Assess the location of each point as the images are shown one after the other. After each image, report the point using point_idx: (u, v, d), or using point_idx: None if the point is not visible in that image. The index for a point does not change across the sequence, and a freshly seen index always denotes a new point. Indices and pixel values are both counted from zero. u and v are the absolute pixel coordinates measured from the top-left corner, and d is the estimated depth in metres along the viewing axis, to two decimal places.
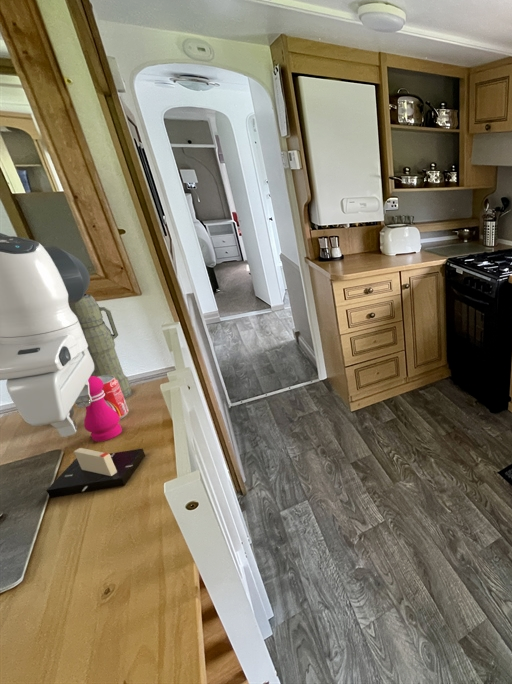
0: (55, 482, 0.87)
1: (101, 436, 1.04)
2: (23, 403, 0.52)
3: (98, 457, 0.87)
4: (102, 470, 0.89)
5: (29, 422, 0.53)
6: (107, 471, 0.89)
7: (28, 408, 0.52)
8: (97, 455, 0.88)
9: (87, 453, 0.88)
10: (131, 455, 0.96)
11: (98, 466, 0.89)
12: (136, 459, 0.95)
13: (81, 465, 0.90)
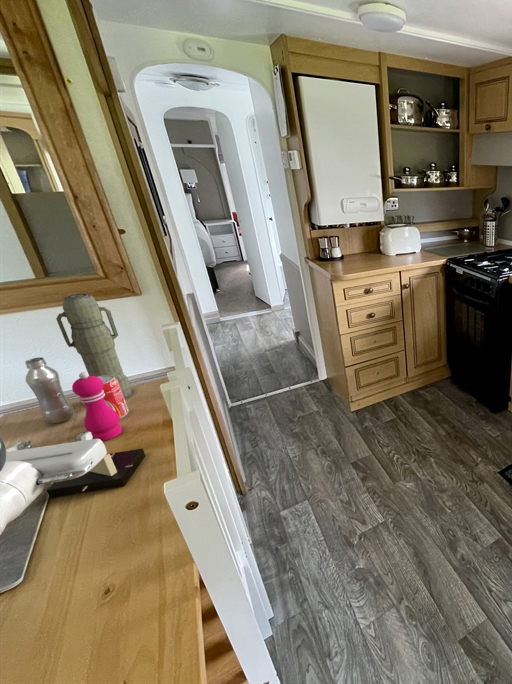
0: (55, 482, 0.87)
1: (101, 436, 1.04)
2: None
3: None
4: (102, 470, 0.89)
5: None
6: (107, 471, 0.89)
7: None
8: None
9: None
10: (131, 455, 0.96)
11: (98, 466, 0.89)
12: (136, 459, 0.95)
13: None
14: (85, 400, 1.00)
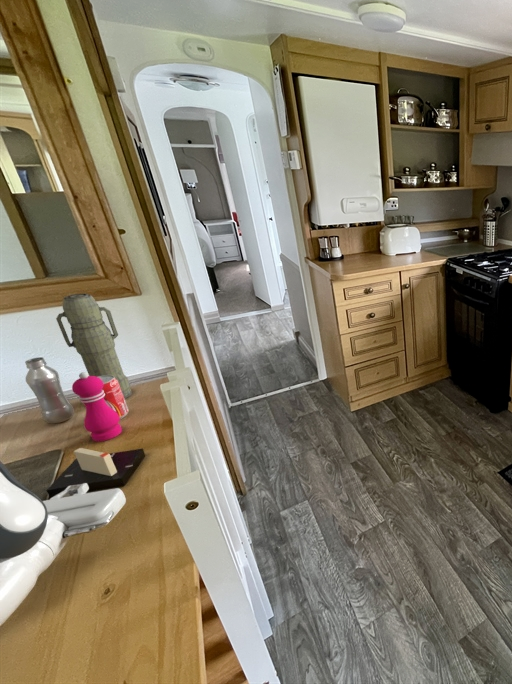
0: (55, 482, 0.87)
1: (101, 436, 1.04)
2: None
3: (98, 457, 0.87)
4: (102, 470, 0.89)
5: None
6: (107, 471, 0.89)
7: None
8: (97, 455, 0.88)
9: (87, 453, 0.88)
10: (131, 455, 0.96)
11: (98, 466, 0.89)
12: (136, 459, 0.95)
13: (81, 465, 0.90)
14: (85, 400, 1.00)
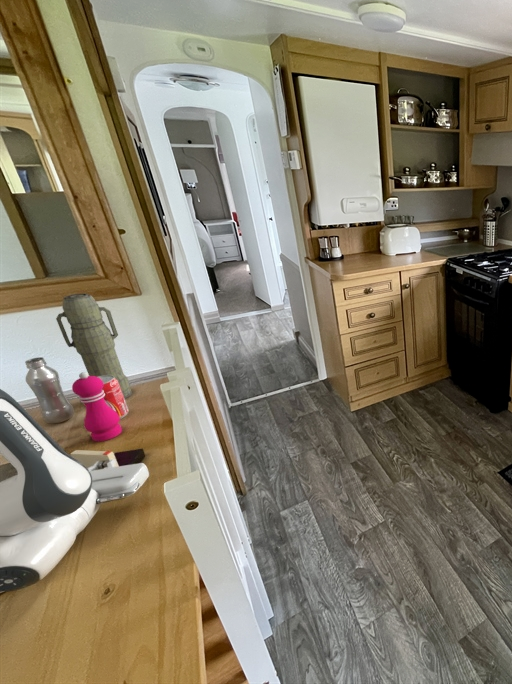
0: None
1: (101, 436, 1.04)
2: None
3: (101, 455, 0.88)
4: None
5: None
6: None
7: None
8: (99, 454, 0.88)
9: (87, 453, 0.88)
10: (131, 455, 0.96)
11: None
12: (136, 459, 0.95)
13: None
14: (85, 400, 1.00)
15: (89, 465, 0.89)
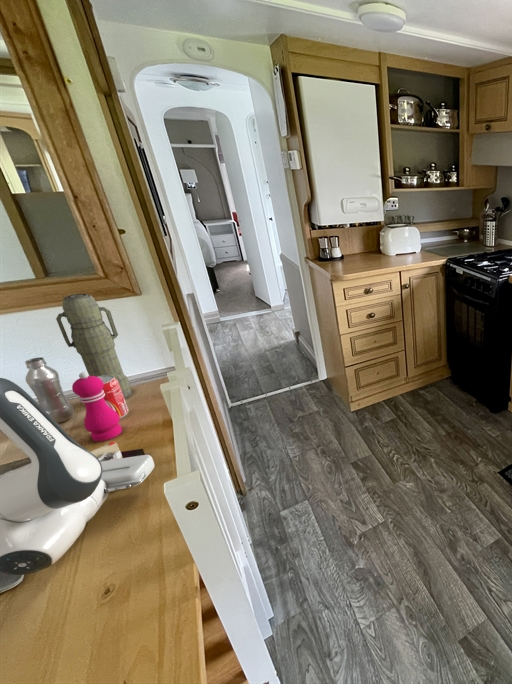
0: None
1: (101, 436, 1.04)
2: None
3: (108, 447, 0.90)
4: None
5: None
6: None
7: None
8: (105, 447, 0.90)
9: None
10: (131, 455, 0.96)
11: None
12: None
13: None
14: (85, 400, 1.00)
15: None
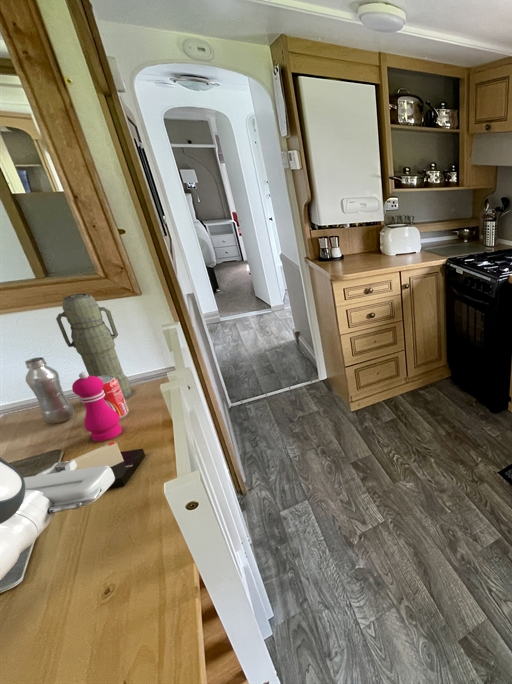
0: None
1: (101, 436, 1.04)
2: None
3: (108, 447, 0.90)
4: (111, 462, 0.92)
5: None
6: (119, 458, 0.93)
7: None
8: (105, 447, 0.90)
9: (89, 454, 0.88)
10: (131, 455, 0.96)
11: (106, 460, 0.91)
12: (136, 459, 0.95)
13: None
14: (85, 400, 1.00)
15: None
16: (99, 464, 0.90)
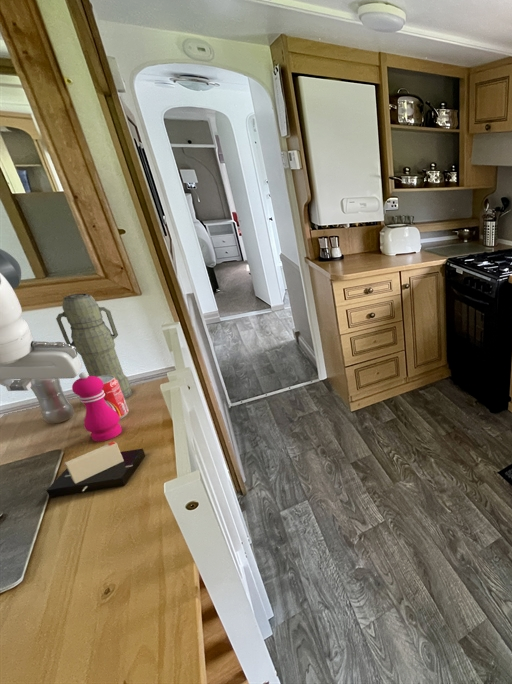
0: (55, 482, 0.87)
1: (101, 436, 1.04)
2: None
3: (108, 447, 0.90)
4: (111, 462, 0.92)
5: None
6: (119, 458, 0.93)
7: None
8: (105, 447, 0.90)
9: (89, 454, 0.88)
10: (131, 455, 0.96)
11: (106, 460, 0.91)
12: (136, 459, 0.95)
13: (76, 477, 0.86)
14: (85, 400, 1.00)
15: (92, 467, 0.88)
16: (99, 464, 0.90)
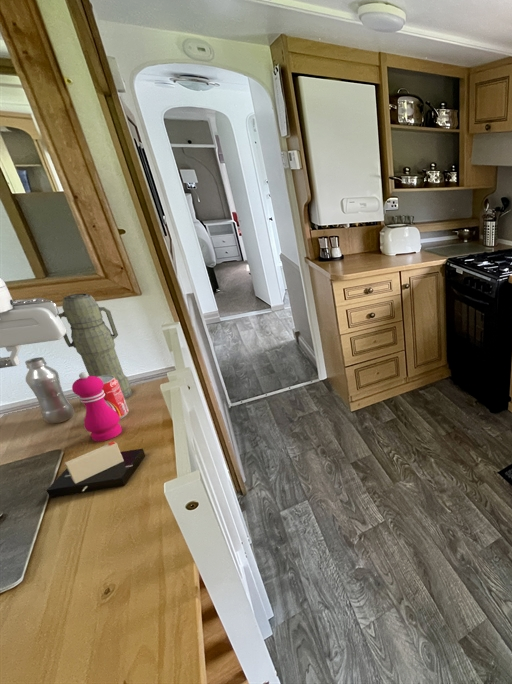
0: (55, 482, 0.87)
1: (101, 436, 1.04)
2: None
3: (108, 447, 0.90)
4: (111, 462, 0.92)
5: None
6: (119, 458, 0.93)
7: None
8: (105, 447, 0.90)
9: (89, 454, 0.88)
10: (131, 455, 0.96)
11: (106, 460, 0.91)
12: (136, 459, 0.95)
13: (76, 477, 0.86)
14: (85, 400, 1.00)
15: (92, 467, 0.88)
16: (99, 464, 0.90)
